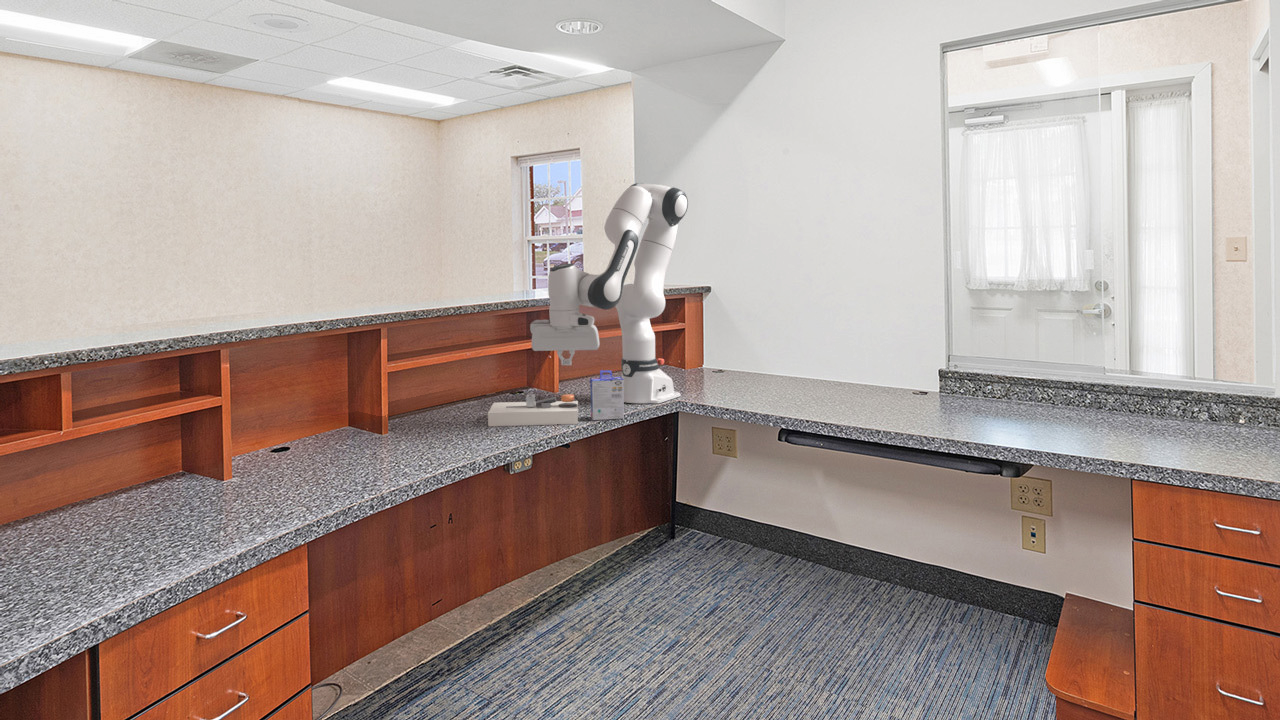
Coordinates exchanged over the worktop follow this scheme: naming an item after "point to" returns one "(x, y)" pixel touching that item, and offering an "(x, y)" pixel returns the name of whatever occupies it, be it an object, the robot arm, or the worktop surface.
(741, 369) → the worktop surface
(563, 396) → the push button
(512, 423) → the control panel
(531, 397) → the slider knob
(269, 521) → the worktop surface
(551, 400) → the rocker switch
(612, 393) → the ink cartridge box
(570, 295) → the robot arm
